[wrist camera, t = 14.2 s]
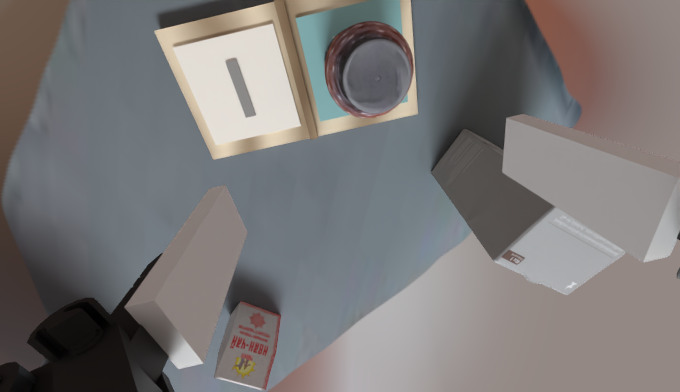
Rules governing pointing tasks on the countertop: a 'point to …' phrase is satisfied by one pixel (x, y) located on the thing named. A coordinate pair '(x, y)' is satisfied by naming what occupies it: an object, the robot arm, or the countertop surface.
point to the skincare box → (519, 219)
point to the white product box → (248, 346)
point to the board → (283, 14)
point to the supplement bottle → (368, 69)
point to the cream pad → (240, 84)
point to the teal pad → (324, 28)
